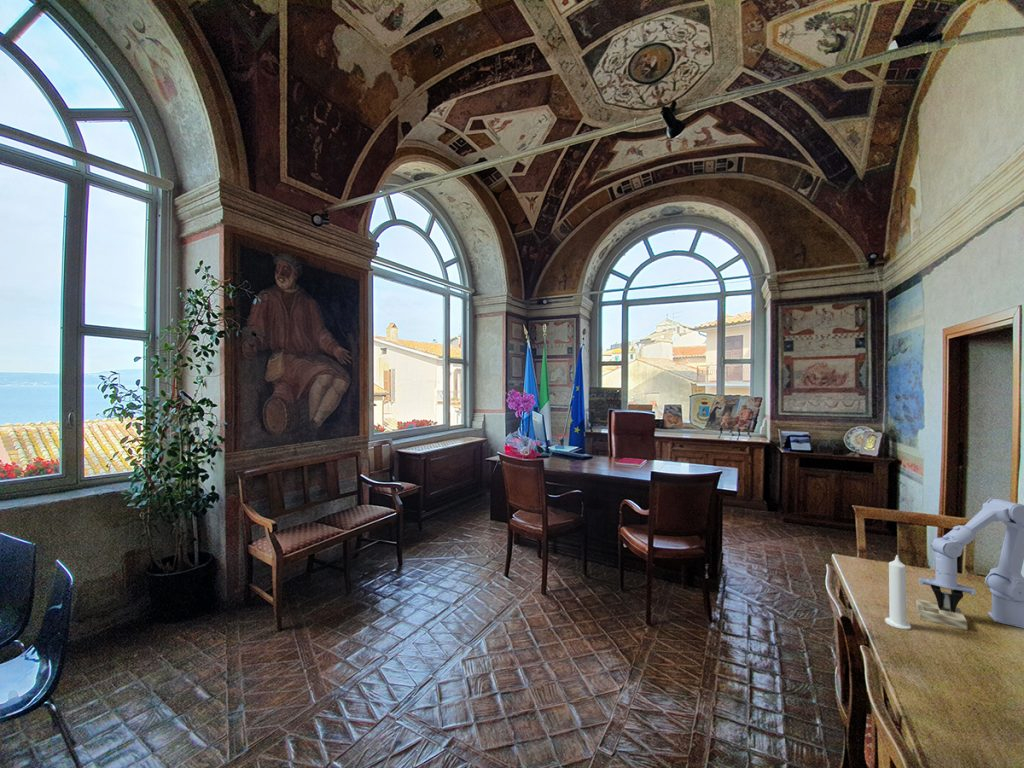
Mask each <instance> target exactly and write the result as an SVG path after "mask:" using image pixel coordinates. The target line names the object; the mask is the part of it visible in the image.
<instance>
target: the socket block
mask: <svg viewBox="0 0 1024 768" xmlns="http://www.w3.org/2000/svg"><path fill="white" fill-rule="evenodd" d="M915 608H916V611H917V613H918V617H919V619H920V620H923V621H926V622H931V623H935V624H939V625H944V626H947V627H951V628H955V629H959V630H965V631H968V620H967V619H966V617H965V616H964V613H963V612H962V610H961V608H959V607H957V606H956V610H955V611H953V610H952V612H948V611H944V610H941V608H939V607H938V603H937V602H933V601H929V600H924V599H921V598H915Z"/></svg>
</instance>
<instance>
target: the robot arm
mask: <svg viewBox="0 0 1024 768" xmlns="http://www.w3.org/2000/svg"><path fill="white" fill-rule="evenodd" d="M997 521H998V522H1002V523H1003V524H1004V525H1005V526H1006V529H1005V533H1004V539H1003V542H1002V547H1001V551H1000V552H1001V553H1000V557H999V561H998V564H997V565H998V566H996V567H993V568H990V570H989V573H988V574H987V575H986V577H985V578H984V583H985V585H986V587H987V588H989V592H990V593H991V611H987V613H988V615H989V616H990V618H991V620H992V621H993V622H995V623H1000V624H1004V625H1008V626H1014V627H1018V628H1021V629H1024V576H1023V574H1022V570H1023V569H1022V568H1023V564H1024V504H1022V503H1017V502H1012V501H1009V500H1004V499H1001V498H998V497H991V498H989V499H987V500H986V501H985V502H984V503H983V504H982V509H981V510H979V511H978V513H976V514H975V515H974V516H973V517H972V518H971V519H970V520H969V521H968V522H966V524H965V525H963V524H962V525H955V526H953V527H952V529H951V530H950V531H949V532H947V533H945V534H944V535H943V536H942V537H936V538H934V539H933V540H932V542H931V543H930V544H929V545H930V548H931V550H933V555H934V560H935V561H934V563H935V564H934V565H935V566H934V567H935V572H934V574H935V577H934V578H925V577H921V576H920V577H919V578H918V583H919V584H920V585H923V586H924V585H926V586H930V588H931V590H932V592H933V593H934V596H935V598H936V603H938V607H939V608H942V605H941V592H942V591H941V589H946V590H950V592H951V593H950V594H952V610H953V611H955V610H956V607H957V606H958V604H959V603H960V601H961V600H962V599H963V598H964V594H970V595H972V596H976V589H975V588H974V587H971V586H967V585H962V584H959V583H958V557H960V556H962V554H963V550H965V546H967V545H969V544H970V543H971V542H972V541H974V540H975V539H976V536H977V535H976V533H977V532H979V531H981V530H982V529H985V528H986V527H988V526H989V525H990V524H992V523H993V522H997Z"/></svg>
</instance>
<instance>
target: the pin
mask: <svg viewBox="0 0 1024 768" xmlns="http://www.w3.org/2000/svg"><path fill="white" fill-rule="evenodd" d="M941 605H942V608H941V610H944V611H948V612H952V594H951V593H950V592H947V591H941Z"/></svg>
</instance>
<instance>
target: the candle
mask: <svg viewBox="0 0 1024 768" xmlns="http://www.w3.org/2000/svg"><path fill="white" fill-rule="evenodd" d="M906 568H907V567H906V565H905V564H904V563H903V562H902V561H901V560H900V558H899V555H898V554H896V555H895V558H894V560H892V561H889V562H888V590H889V591H888V593H889V596H888V598H889V600H888V601H889V603H888V606H889V607H888V609H889V610H888V613H889V616H888V617H885V618H884V622H885V623H886V625H887V624H888V626H891V627H893V628H895V629H899V630H903V631H904V630H906V631H908V630H909V631H910V630H911V629H912V624H910V623H909V622H907V573H906V572H907V569H906Z"/></svg>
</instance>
